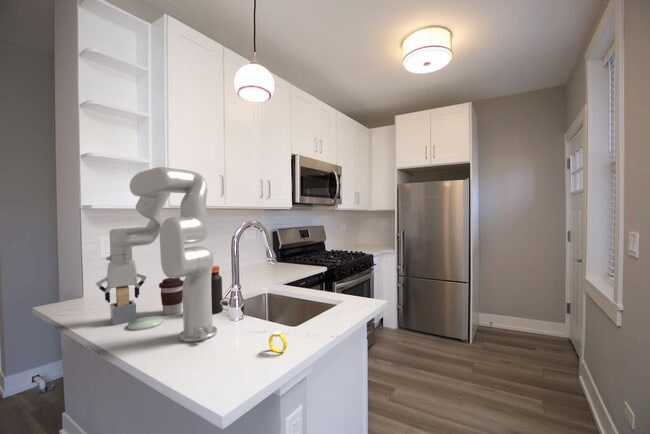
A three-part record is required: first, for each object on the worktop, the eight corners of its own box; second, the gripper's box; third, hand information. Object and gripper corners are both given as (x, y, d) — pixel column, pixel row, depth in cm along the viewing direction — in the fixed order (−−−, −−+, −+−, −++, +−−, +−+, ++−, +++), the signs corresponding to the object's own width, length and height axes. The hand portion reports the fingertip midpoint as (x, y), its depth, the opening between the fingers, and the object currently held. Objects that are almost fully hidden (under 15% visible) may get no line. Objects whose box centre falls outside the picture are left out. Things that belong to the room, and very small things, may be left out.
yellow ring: (268, 352, 95) (266, 333, 95) (273, 348, 97) (272, 330, 97) (283, 355, 92) (281, 335, 92) (289, 351, 94) (287, 331, 94)
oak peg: (130, 320, 126) (128, 287, 126) (118, 323, 124) (117, 288, 124) (128, 318, 129) (127, 285, 129) (117, 320, 127) (116, 287, 127)
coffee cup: (189, 309, 140) (188, 276, 140) (176, 316, 130) (175, 281, 130) (168, 308, 141) (167, 276, 141) (154, 316, 131) (153, 281, 131)
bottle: (226, 310, 136) (224, 266, 136) (213, 315, 130) (212, 268, 130) (215, 308, 140) (214, 265, 139) (203, 313, 134) (201, 267, 134)
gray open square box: (136, 320, 126) (135, 303, 126) (112, 325, 121) (112, 308, 121) (133, 316, 132) (132, 299, 132) (110, 320, 127) (110, 303, 127)
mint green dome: (166, 324, 121) (166, 321, 121) (130, 332, 113) (130, 329, 113) (159, 317, 130) (159, 314, 130) (125, 324, 122) (125, 321, 122)
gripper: (96, 261, 118) (97, 306, 118) (147, 256, 129) (148, 297, 129) (94, 259, 124) (96, 302, 124) (143, 255, 135) (144, 293, 135)
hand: (122, 299), depth 126 cm, fingers open, 9 cm apart
